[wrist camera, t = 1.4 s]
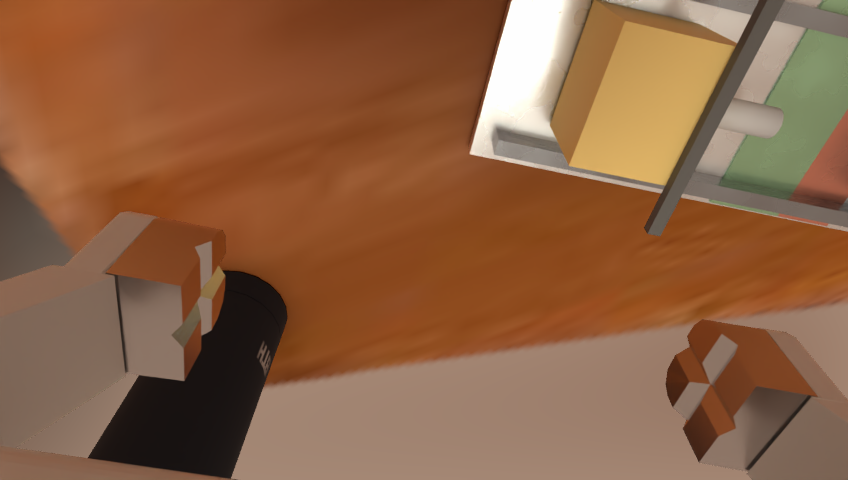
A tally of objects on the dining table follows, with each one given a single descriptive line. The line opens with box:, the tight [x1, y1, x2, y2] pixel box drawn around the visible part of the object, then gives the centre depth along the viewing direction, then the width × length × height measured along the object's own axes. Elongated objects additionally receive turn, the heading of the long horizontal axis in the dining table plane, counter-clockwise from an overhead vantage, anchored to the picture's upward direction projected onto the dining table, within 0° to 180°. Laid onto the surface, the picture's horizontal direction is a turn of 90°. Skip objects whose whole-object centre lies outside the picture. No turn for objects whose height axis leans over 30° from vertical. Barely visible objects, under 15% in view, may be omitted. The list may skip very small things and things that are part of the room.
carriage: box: [550, 0, 785, 236], centre depth 24 cm, size 10×9×5 cm
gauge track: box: [469, 0, 848, 231], centre depth 25 cm, size 11×26×7 cm, turn 78°
